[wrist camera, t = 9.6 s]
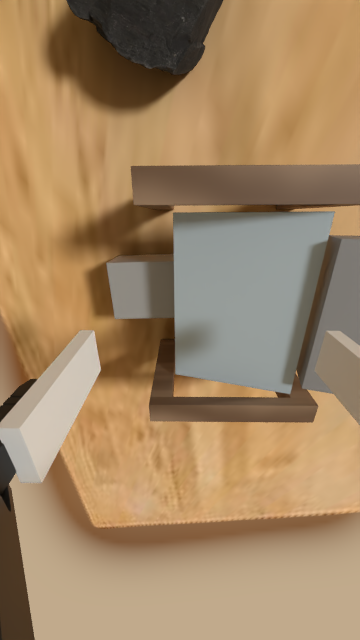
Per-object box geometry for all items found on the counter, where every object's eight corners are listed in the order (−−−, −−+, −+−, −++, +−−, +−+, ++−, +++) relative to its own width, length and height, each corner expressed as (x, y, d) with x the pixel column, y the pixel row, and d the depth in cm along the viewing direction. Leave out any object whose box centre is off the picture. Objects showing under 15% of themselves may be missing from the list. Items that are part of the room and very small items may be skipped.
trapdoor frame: (154, 188, 24) (130, 165, 13) (298, 187, 24) (394, 164, 13) (161, 351, 32) (150, 421, 22) (269, 352, 32) (313, 422, 21)
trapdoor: (180, 212, 20) (169, 212, 17) (400, 211, 16) (430, 210, 13) (180, 363, 26) (172, 380, 23) (338, 388, 22) (350, 412, 19)
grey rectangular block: (187, 253, 27) (119, 255, 27) (187, 261, 23) (106, 263, 23) (187, 301, 30) (125, 303, 30) (188, 317, 25) (114, 318, 25)
